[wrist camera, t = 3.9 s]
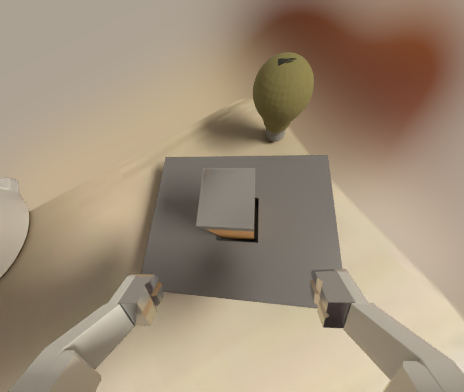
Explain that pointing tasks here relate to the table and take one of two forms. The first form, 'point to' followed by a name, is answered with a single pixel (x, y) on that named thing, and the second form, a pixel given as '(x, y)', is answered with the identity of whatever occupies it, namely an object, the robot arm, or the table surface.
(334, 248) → the grey block with hole
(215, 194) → the plug
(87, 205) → the table surface
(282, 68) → the light bulb
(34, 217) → the table surface
